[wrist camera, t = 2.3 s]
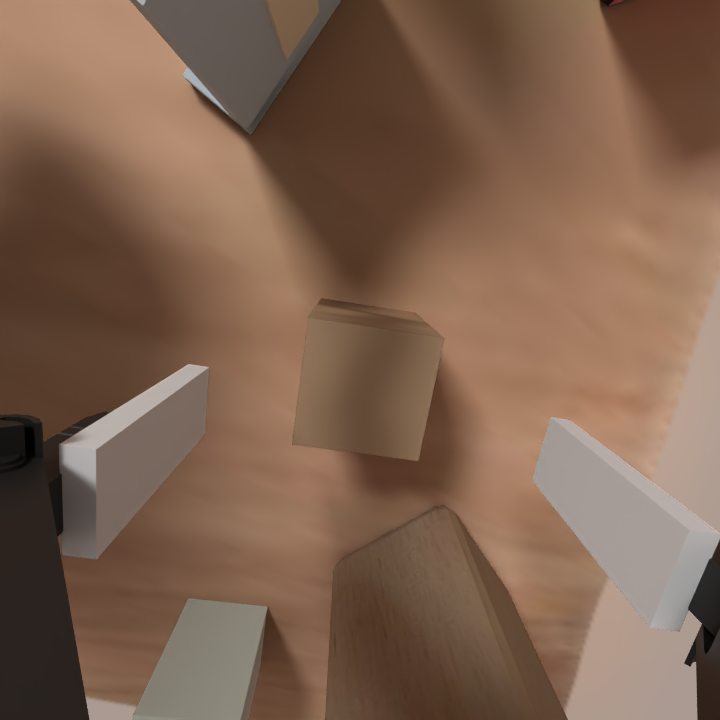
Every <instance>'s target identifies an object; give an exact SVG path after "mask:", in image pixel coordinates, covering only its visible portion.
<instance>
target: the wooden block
mask: <svg viewBox="0 0 720 720" xmlns="http://www.w3.org/2000/svg"><path fill="white" fill-rule="evenodd" d="M325 720H568V719H567V717H566V715H565V713H564V711H563V708H562V706H561V704H560V702H559V700H558V698H557V696H556V693H555V691H554V689H553V687H552V685H551V683H550V681H549V678H548V676H547V674H546V672H545V670H544V668H543V665H542V663H541V661H540V659H539V657H538V655H537V653H536V650H535V648H534V646H533V644H532V642H531V640H530V638H529V635H528V633H527V631H526V629H525V627H524V625H523V623H522V620H521V618H520V616H519V614H518V612H517V610H516V608H515V605H514V603H513V601H512V599H511V597H510V595H509V593H508V591H507V589H506V588H505V586H504V585H503V583H502V582H501V580H500V579H499V577H498V576H497V574H496V573H495V571H494V570H493V569H492V567H491V566H490V564H489V563H488V561H487V560H486V558H485V557H484V555H483V554H482V552H481V551H480V549H479V548H478V546H477V545H476V543H475V542H474V540H473V539H472V537H471V536H470V535H469V533H468V532H467V530H466V529H465V527H464V526H463V524H462V523H461V521H460V520H459V518H458V517H457V515H456V514H455V513H454V512H453V511H451V510H450V509H448V508H447V507H446V506H444V505H441V506H436V507H434V508H432V509H430V510H428V511H427V512H425V513H423V514H421V515H420V516H418V517H416V518H414V519H412V520H411V521H409V522H407V523H405V524H404V525H402V526H400V527H398V528H396V529H395V530H393V531H391V532H389V533H388V534H386V535H384V536H382V537H381V538H379V539H377V540H375V541H373V542H372V543H370V544H368V545H366V546H365V547H363V548H361V549H359V550H357V551H356V552H354V553H352V554H350V555H349V556H347V557H345V558H343V559H342V560H341V561H340V562H339V563H338V564H337V565H336V567H335V569H334V571H333V587H332V605H331V623H330V641H329V659H328V677H327V695H326V713H325Z"/></svg>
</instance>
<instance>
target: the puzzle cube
mask: <svg viewBox="0 0 720 720" xmlns="http://www.w3.org/2000/svg"><path fill="white" fill-rule="evenodd" d="M601 1H602V2H603V3H605V4H606V5H607V6H610V5H613V4H616V3H619V2H622V1H625V0H601Z"/></svg>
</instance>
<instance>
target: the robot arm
mask: <svg viewBox="0 0 720 720" xmlns="http://www.w3.org/2000/svg"><path fill="white" fill-rule="evenodd" d="M208 380H209V367H205V366H199V365H192V364H188V365H186V366H185V367H183V368H181V369H180V370H178V371H177V372H175V373H173V374H172V375H170V376H169V377H167V378H165V379H164V380H162V381H160V382H159V383H157V384H156V385H154V386H152V387H151V388H149V389H148V390H146V391H144V392H143V393H141V394H140V395H138V396H136V397H135V398H133V399H131V400H130V401H128V402H127V403H125V404H123V405H122V406H120V407H119V408H117V409H115V410H114V411H112V412H102V413H99V414H96V415H93V416H89V417H86V418H84V419H83V420H81V421H79V422H78V423H76V424H74V425H72V427H69V428H67V429H66V430H64V431H62V432H61V434H57V435H55V436H54V437H52V438H50V439H48V440H47V441H45V442H43V434H42V422H41V421H40V420H39V419H38V418H35V417H32V416H28V415H0V720H89V715H88V709H87V704H86V698H85V692H84V686H83V681H82V675H81V669H80V664H79V658H78V652H77V646H76V641H75V635H74V629H73V624H72V618H71V612H70V606H69V601H68V595H67V589H66V583H65V578H64V572H63V566H62V561H61V555H60V549H59V543H58V538H57V537H58V536H59V535H60V534H61V537H62V555H64V556H72V557H80V558H88V559H96V560H97V558H98V557H99V556H100V555H101V554H102V553H103V552H104V550H105V549H106V548H107V547H108V546H109V545H110V543H111V542H112V541H113V540H114V539H115V538H116V537H117V535H118V534H119V533H120V532H121V531H122V530H123V528H124V527H125V526H126V525H127V524H128V523H129V522H130V520H131V519H132V518H133V517H134V516H135V515H136V514H137V512H138V511H139V510H140V509H141V508H142V507H143V505H144V504H145V503H146V502H147V501H148V500H149V499H150V497H151V496H152V495H153V494H154V493H155V492H156V490H157V489H158V488H159V487H160V486H161V485H162V484H163V482H164V481H165V480H166V479H167V478H168V477H169V476H170V474H171V473H172V472H173V471H174V470H175V469H176V467H177V466H178V465H179V464H180V463H181V462H182V461H183V459H184V458H185V457H186V456H187V455H188V454H189V452H190V451H191V450H192V449H193V448H194V447H195V446H196V444H197V443H198V442H199V441H200V440H201V439H202V437H203V436H204V435H205V425H206V410H207V395H208ZM532 481H533V482H534V483H535V485H536V486H537V487H538V488H539V490H540V491H541V492H542V493H543V495H544V496H545V497H546V498H547V500H548V501H549V502H550V503H551V505H552V506H553V507H554V508H555V510H556V511H557V512H558V513H559V515H560V516H561V517H562V519H563V520H564V521H565V522H566V524H567V525H568V526H569V527H570V529H571V530H572V531H573V532H574V534H575V535H576V536H577V537H578V539H579V540H580V541H581V542H582V544H583V545H584V546H585V547H586V549H587V550H588V551H589V553H590V554H591V555H592V556H593V558H594V559H595V560H596V561H597V563H598V564H599V565H600V566H601V568H602V569H603V570H604V571H605V573H606V574H607V575H608V576H609V578H610V579H611V580H612V581H613V583H614V584H615V585H616V587H617V588H618V589H619V590H620V592H621V593H622V594H623V595H624V597H625V598H626V599H627V600H628V602H629V603H630V604H631V605H632V607H633V608H634V609H635V610H636V612H637V613H638V614H639V615H640V617H641V618H642V619H643V620H644V622H645V623H646V624H647V625H648V627H649V628H655V629H663V630H671V631H680V629H681V627H682V625H683V622H684V620H685V618H686V615H687V613H688V611H689V610H690V612H692V614H693V615H694V616H695V617H696V618H697V619H698V620H699V621H700V622H701V623H702V625H701V627H700V630H699V632H698V634H697V636H696V639H695V641H694V643H693V645H692V647H691V649H690V652H689V654H688V656H687V658H686V661H685V664H686V665H688V666H691V664H692V663H693V662H696V668H697V669H696V670H697V712H698V713H697V714H698V720H720V533H719V532H718V531H716V530H715V529H714V528H712V527H711V526H710V525H708V524H707V523H706V522H704V521H703V520H702V519H700V518H699V517H698V516H696V515H695V514H694V513H693V512H691V511H690V510H689V509H687V508H686V507H684V506H683V505H682V504H681V503H679V502H678V501H677V500H675V499H674V498H672V497H671V496H670V495H669V494H667V493H666V492H665V491H663V490H662V489H661V488H659V487H658V486H657V485H655V484H654V483H653V482H651V481H650V480H649V479H647V478H646V477H645V476H643V475H642V474H641V473H639V472H638V471H637V470H635V469H634V468H633V467H632V466H630V465H629V464H628V463H626V462H625V461H624V460H622V459H621V458H620V457H618V456H617V455H616V454H614V453H613V452H612V451H610V450H609V449H608V448H606V447H605V446H604V445H602V444H601V443H600V442H598V441H597V440H596V439H594V438H593V437H592V436H590V435H589V434H588V433H586V432H585V431H584V430H582V429H581V428H580V427H578V426H577V425H576V424H574V423H573V422H572V421H570V420H567V419H560V418H553V417H551V418H550V421H549V424H548V428H547V431H546V435H545V438H544V442H543V445H542V448H541V452H540V455H539V459H538V462H537V466H536V469H535V472H534V476H533V479H532Z"/></svg>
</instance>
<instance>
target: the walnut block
mask: <svg viewBox="0 0 720 720" xmlns="http://www.w3.org/2000/svg"><path fill="white" fill-rule="evenodd" d="M443 343H444V338H443V337H442V336H441V335H440V334H439V333H438V332H437V331H435V330H434V329H433V328H432V327H431V326H430V325H429V324H428V323H426V322H425V321H424V320H423V319H422V318H421V317H420V316H419V315H417V314H416V313H412V312H406V311H399V310H393V309H386V308H380V307H373V306H367V305H360V304H354V303H347V302H341V301H335V300H328V299H322V298H321V300H320V301H319V302H318V304H317V305H316V307H315V308H314V310H313V311H312V313H311V314H310V316H309V317H308V321H307V329H306V337H305V345H304V353H303V361H302V370H301V378H300V386H299V394H298V402H297V410H296V418H295V426H294V434H293V442H292V445H300V446H308V447H315V448H323V449H330V450H338V451H346V452H353V453H361V454H369V455H376V456H384V457H391V458H399V459H407V460H414V461H418V460H419V455H420V451H421V446H422V441H423V437H424V432H425V427H426V423H427V418H428V413H429V408H430V404H431V399H432V394H433V390H434V385H435V380H436V376H437V371H438V366H439V362H440V357H441V352H442V348H443Z"/></svg>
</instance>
